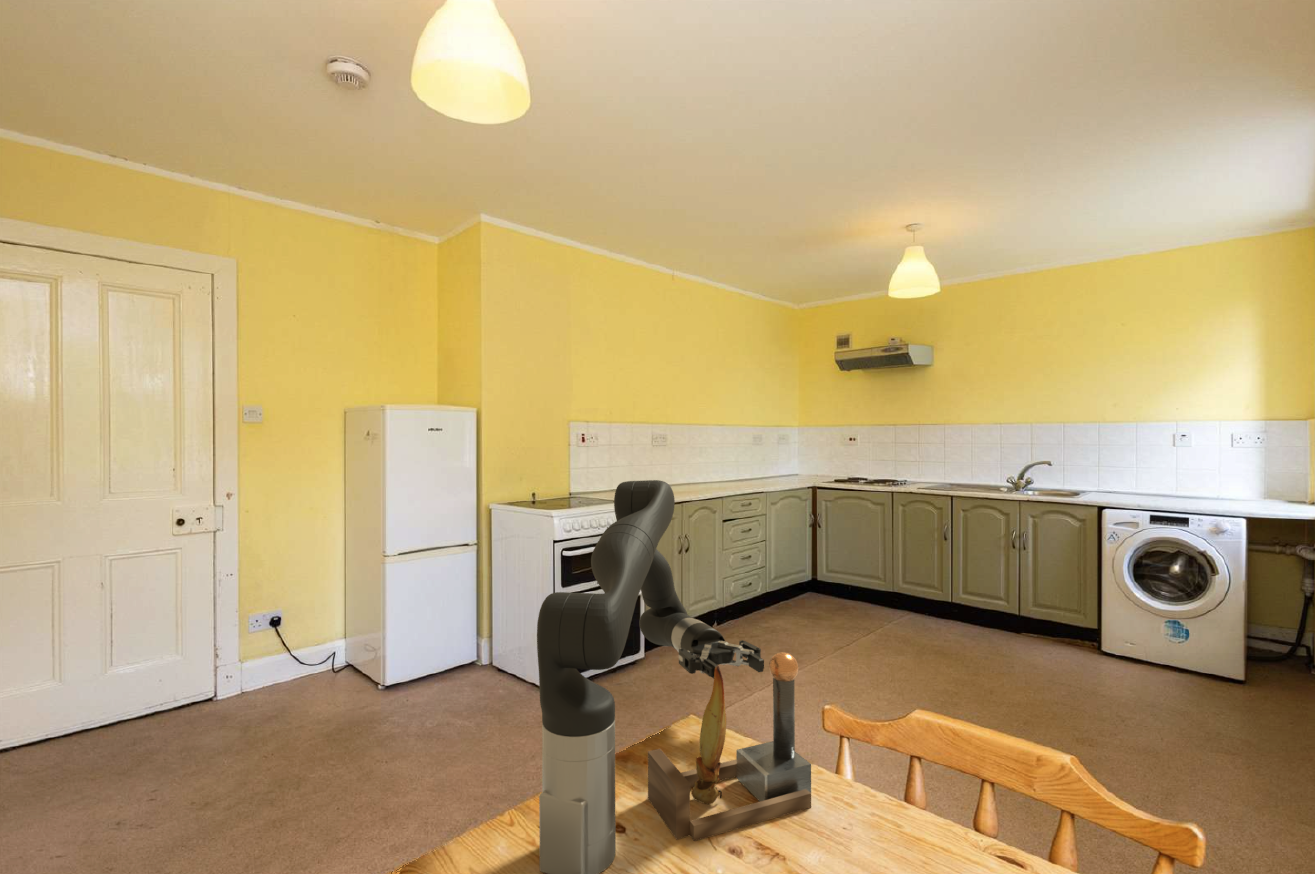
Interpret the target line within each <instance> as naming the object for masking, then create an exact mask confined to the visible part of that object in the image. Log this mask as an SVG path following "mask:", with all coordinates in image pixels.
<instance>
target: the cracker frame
mask: <svg viewBox="0 0 1315 874" xmlns="http://www.w3.org/2000/svg"><path fill="white" fill-rule="evenodd" d="M720 763H721V764H720V769H719V779H721V780H719V781H718V782H721V781H725V780H729V779H732V778H737V760H736V759H731V760H728V761H723V762H720ZM698 778H699V777H698V775H697V770H696V768H694V769H690V770H687V771H682V772H681V771H680V770H679V768H677V767H676V765H675V764H674V763H673V762H672V761H671V759H670V758H669V757H668V756H667V755H666V753H665V752H664V751H663V750H662V749H661V748H657V749H652V750H647V800H648V801H649V802H650V804H651V805H652V807H653V808H654V810H655V811H656V812H657V814H658V815H659V817H660V819H661V820H662V822H664V825H665V826H666V827H667V828H668V829H669V831H670V833H671V835H672V836H673V837H674V838H675V840H681V839H683V838H687V837H690V838H691V839H692V840H693V842H696V841H699V840H703V839H706V838H709V837H713V836H717V835H720V834H723V833H726V832H730V831H733V830H737V829H741V828H744V827H747V826H751V825H755V824H758V823H761V822H765V821H768V820H772V819H775V818H779V817H783V816H785V815H788V814H793V813H796V812H799V811H800V812H801V811H804V810H806V809H810V808H812V792H811V793H810V792H809V791H808V790H807V789H804V790H801V791H797V792H793V793H790V794H786V795H782V796H779V797H775V798H771V799H768V800H764V801H757V802H753V803H750V804H746V805H743V806H739V807H735V808H732V809H728V810H725V811H720V812H717V813H713V814H710V815H706V816H703V817H699V818H696V819H692V820H691V790H690V789H692V788H691V787H693V788H694V786H695V782H697V780H698Z"/></svg>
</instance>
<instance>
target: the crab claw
mask: <svg viewBox="0 0 1315 874" xmlns="http://www.w3.org/2000/svg"><path fill="white" fill-rule="evenodd" d="M725 700H726V699H725V687H724V678H723V675H722V670H721V669H720V666H719V665H718V666H716V667H715V672H714V679H713V685H712V691H711V695H710V697H709V700H708V703H707V704H706V705H705V706H706V707H705V709H704V712H703V715H702V720H701V721H702V722H701V726H700V727H701V728H700V733H699V744H698V745H699V746H698V747H699V752H700V753H699V754H700V756H697V757H695V763H696V768H695V769H696V770H697V775H698V777H699V778H698V780H697V782H695V786H694V787H691V788H690V789H691V790H690V795H691V797H692V798H693V799H694V800H696V801H697V802H700V803H702V804H704V805H713V804H714V803H715V802H716V800H717V798H718V796H719V799H722V796H723V792H722V790H719V789H718V788H717V787H716V784H717V783H718V782H720V781H719V780H721V779H719V769H720V764H721V763H722V762H721V757H722V754H723V750H724V747H725V741H726V732H727V712H726V701H725ZM721 781H722V780H721Z"/></svg>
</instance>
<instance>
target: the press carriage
mask: <svg viewBox="0 0 1315 874" xmlns="http://www.w3.org/2000/svg"><path fill="white" fill-rule="evenodd" d="M768 665H769V666H768V669H769V673H770V675H771V677H772V685H773V686H772V692H773V693H772V697H773V698H772V703H773V704H772V722H773V723H772V725H773V726H772V729H773V732H772V735H773V736H772V737H773V739H772V740H773V741H768V742H764V743H760V744H756V745H750V746H747V747H742V748H737V749H736V752H735V753H736V755H735V756H736V758H735V760H737V777H736V779H737V780H738V781H739V782H740V783H741V785H743V786H744V787H745V788H746V789H747V790H748V792H749V793H751V794H752V795H753V796H754V797H755V798H756V799H757V800H758V802H760V801H764V800H768V799H771V798H775V797H779V796H782V795H786V794H790V793H793V792H797V791H801V790H804V789H807V790H808V791H809V792H810V793H811V794H812V763H811V762H809V761H808V760H807V759H805V758H804V757H803V756H802V755H801V754H799V752H797V751H796V746H795V745H796V743H795V741H796V737H795V736H796V734H795V733H796V731H795V728H796V727H795V726H796V724H795V720H796V719H795V718H796V716H795V713H796V711H795V705H796V703H795V701H796V700H795V698H796V697H795V695H796V694H795V691H796V690H795V679H796V677H797V675H798V674H799V663H798V661H797V659H796V658H795V657H794V656H793V655H792V654H791V653H789V652H785V651H782V652H777V653H775V654H774V655H772V657H771V658H770V660H769V663H768Z"/></svg>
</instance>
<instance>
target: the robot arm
mask: <svg viewBox="0 0 1315 874" xmlns="http://www.w3.org/2000/svg"><path fill="white" fill-rule="evenodd" d="M613 501H614V503H613V509H614V514H615V519H616V521H615V522H613V523H612V524H610V525H609V526H608V527H607V528H606V529H605V531H603V533H602V535H601V536H600V538H599V539H598V541H597V542H596V544H595V546H594V549H593V551H592V553H591V557H590V566H591V571H592V574H593V576H594V578H595V580H596V582H597V584H598V586H599V587H600V588H601V590H602V591H603V592H604V593H589V592H570V591H569V592H567V591H566V592H564V591H563V592H561V591H560V592H552V593H550V594H549V595H547V596H545V599H544V600H543V601H542V603H541V606H540V609H539V612H538V618H537V626H536V649H537V650H536V651H537V652H536V653H537V665H538V681H539V682H538V683H539V687H538V688H539V705H540V708H541V723H542V724H541V726H542V728H541V732H542V733H541V734H542V737H541V738H542V746H541V748H542V749H541V751H542V752H541V757H542V758H541V759H542V760H541V761H542V762H541V763H542V765H541V766H542V767H541V768H542V770H541V771H542V773H541V774H542V775H541V777H542V779H541V780H542V782H541V783H542V792H541V793H540V794H539V797H538V799H539V800H538V801H539V803H538V804H539V808H538V809H539V815H538V816H539V819H538V821H539V826H538V827H539V871H540V872H541V873H545V874H601V872H604V871H605V870H607V869H608V867H610V866H611V865H612V863H613V861H614V860H615V857H616V845H617V844H616V843H617V842H616V702H615V698H614V696H613V694H612V693H611V691H609V690H608V689H607V688H606V687H604V686H603V685H600V684H597V683H595V682H593V681H592V680H590V679H589V678H587V677H585V676H584V675H583V674H582V673H581V672H580V671H579V670H592V671H593V670H594V671H600V670H601V671H602V670H603V671H604V670H608V669H611V668H613V667H615V665H617V664H618V662H619V660H620V659H621V656H622V654H623V652H624V649H625V646H626V643H627V640H628V637H629V633H630V627H631V623H632V620H633V615H634V612H635V608H636V604H637V600H638V597H639V594H640V592H641V596H642V600H643V603H644V604H645V606H647V607H648V608H647V610H645V611H643V613H641V615H640V617H639V622H638V623H639V626H638V627H639V629H640V630H639V631H641V633H642V635H643V636H644V638H645V639H647V640H648V641H649V642H650V643H653V644H655V645H658V646H662V647H671V648H673V649H675V650H676V651H677V653H678V665H680V666H681V667H682V668H683V669H684V670H685V671H686V672H687V673H689V674H696V673H697V671H698V672H699V673H700V674H705V675H707V676H708V677H710V678H712V679H713V680H714V672H715V667H716V666H719V665H720V666H721V665H722V666H726V665H729V666H735V667H741V665H743V666H748V667H750V668H751V669H753V670H754V671H756V672H757V673H763V672H764V669H765V659H763V658H761V655H762V654H761V652H762V651H761V650H762V649H761V648H760V647H759V646H756V645H754V644H752V643H750V642H748V641H746V640H743V639H741V640H739V641H738V642H739V644H736V643H730V642H728V641H726V640H725V638H724V635H722V633H721V632H720V631H718V630H717V629H716V628H714V627H712V626H710V625H709V624H707V623H705V622H703V621H701V620H700V619H696V618H695V617H692V616H690V615H688V611H687V610H686V608H685V607H684V604H683V603H682V601H681V600H680V598H679V596H678V594H677V591H676V589H675V583H674V576H673V572H672V569H671V566H670V563H669V562H668V560H667V559H666V557H665V556H664V555H663V554H662V553H661V552H660V551H659V550H658V545H659V543H660V541H661V539H662V537H663V536H664V534H665V532H666V531H667V529H668V528H669V526H670V524H671V523H672V519H673V516H674V511H675V502H676V501H675V493H674V491H673V489H672V487H671V485H670V484H669V483H668V482H666V481H664V480H658V479H657V480H656V479H653V480H652V479H649V480H647V479H646V480H628V481H623V482H620V483H619V484H618V485H617V487H616V490H615V493H614V498H613ZM734 657H736V658H735V660H734ZM744 658H745V659H744Z"/></svg>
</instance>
